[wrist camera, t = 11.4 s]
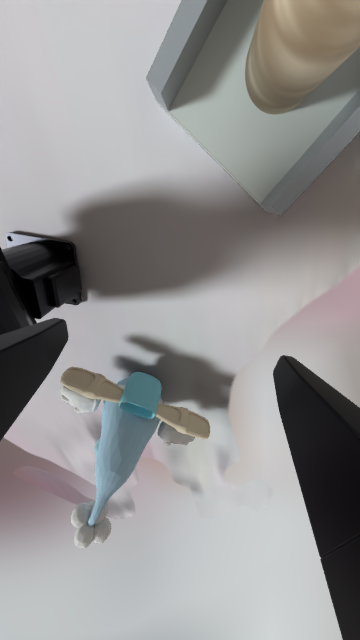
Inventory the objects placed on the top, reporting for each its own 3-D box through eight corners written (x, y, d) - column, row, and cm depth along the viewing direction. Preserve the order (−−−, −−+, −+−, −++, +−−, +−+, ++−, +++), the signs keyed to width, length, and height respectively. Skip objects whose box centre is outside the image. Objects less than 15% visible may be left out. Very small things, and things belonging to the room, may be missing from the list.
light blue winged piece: (73, 387, 31) (-20, 527, 18) (90, 334, 25) (-24, 477, 13) (177, 426, 33) (162, 574, 20) (212, 386, 28) (221, 548, 15)
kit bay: (157, 103, 15) (145, 78, 12) (310, -201, 9) (364, -397, 6) (266, 212, 17) (281, 215, 14) (433, 25, 12) (513, -34, 9)
